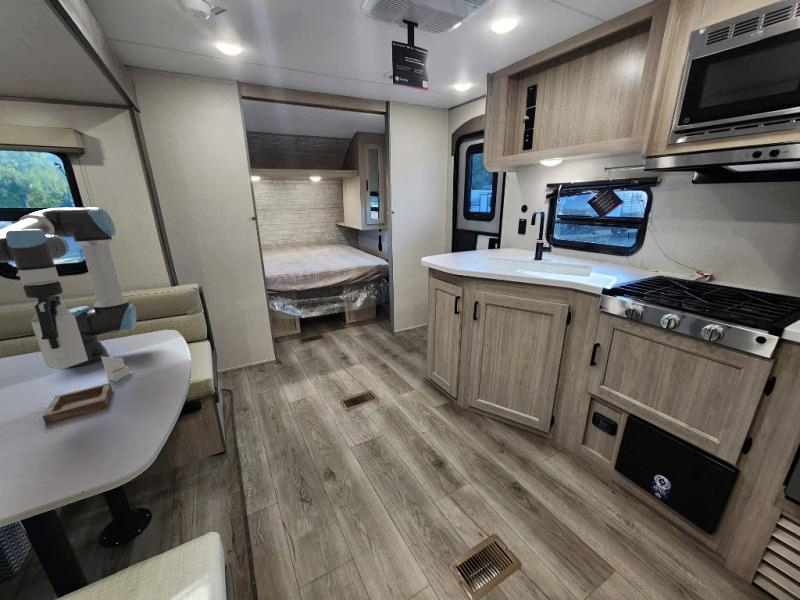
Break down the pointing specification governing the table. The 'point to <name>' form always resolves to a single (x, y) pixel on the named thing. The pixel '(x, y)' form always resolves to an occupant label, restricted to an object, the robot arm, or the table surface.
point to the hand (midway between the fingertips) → (64, 351)
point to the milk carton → (69, 340)
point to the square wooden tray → (78, 403)
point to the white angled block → (114, 368)
